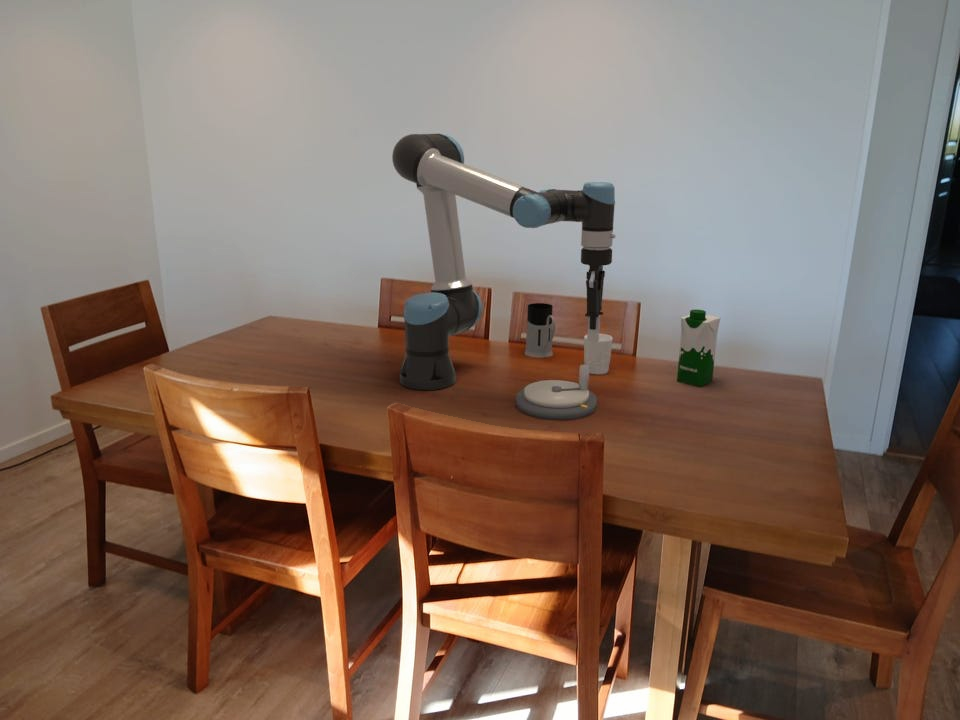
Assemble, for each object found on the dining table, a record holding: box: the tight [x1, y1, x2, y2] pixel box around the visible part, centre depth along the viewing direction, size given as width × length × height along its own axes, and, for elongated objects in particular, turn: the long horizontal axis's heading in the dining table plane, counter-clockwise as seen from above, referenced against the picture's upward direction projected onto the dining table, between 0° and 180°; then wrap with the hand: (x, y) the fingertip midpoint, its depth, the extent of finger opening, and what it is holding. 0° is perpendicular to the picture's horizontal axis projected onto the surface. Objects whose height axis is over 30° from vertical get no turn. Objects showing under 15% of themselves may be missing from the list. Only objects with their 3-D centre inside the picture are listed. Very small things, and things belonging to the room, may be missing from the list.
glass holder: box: [524, 302, 556, 359], centre depth 218 cm, size 9×14×15 cm, turn 21°
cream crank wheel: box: [523, 364, 590, 408], centre depth 179 cm, size 16×16×8 cm
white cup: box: [583, 333, 613, 375], centre depth 205 cm, size 8×8×10 cm
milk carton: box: [676, 309, 721, 388], centre depth 196 cm, size 9×9×20 cm
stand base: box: [515, 387, 598, 421], centre depth 181 cm, size 20×20×2 cm
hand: (593, 340), depth 184 cm, fingers closed
